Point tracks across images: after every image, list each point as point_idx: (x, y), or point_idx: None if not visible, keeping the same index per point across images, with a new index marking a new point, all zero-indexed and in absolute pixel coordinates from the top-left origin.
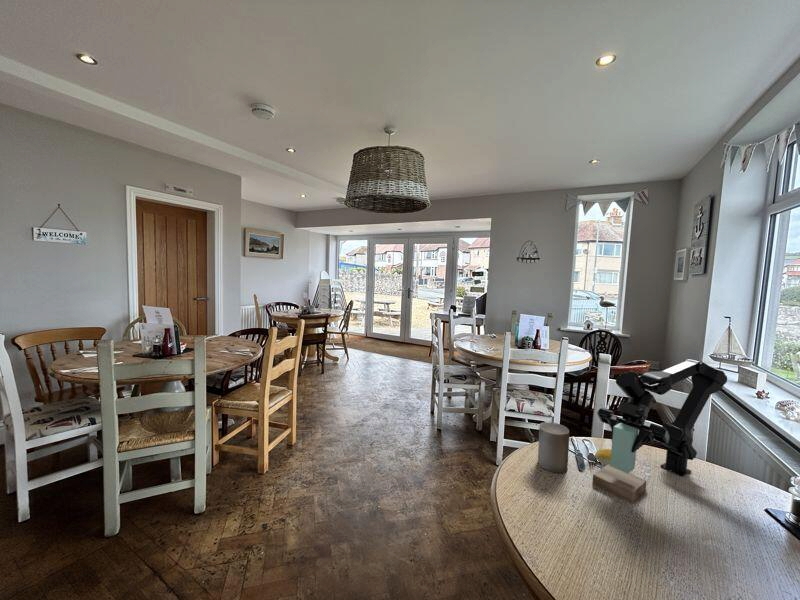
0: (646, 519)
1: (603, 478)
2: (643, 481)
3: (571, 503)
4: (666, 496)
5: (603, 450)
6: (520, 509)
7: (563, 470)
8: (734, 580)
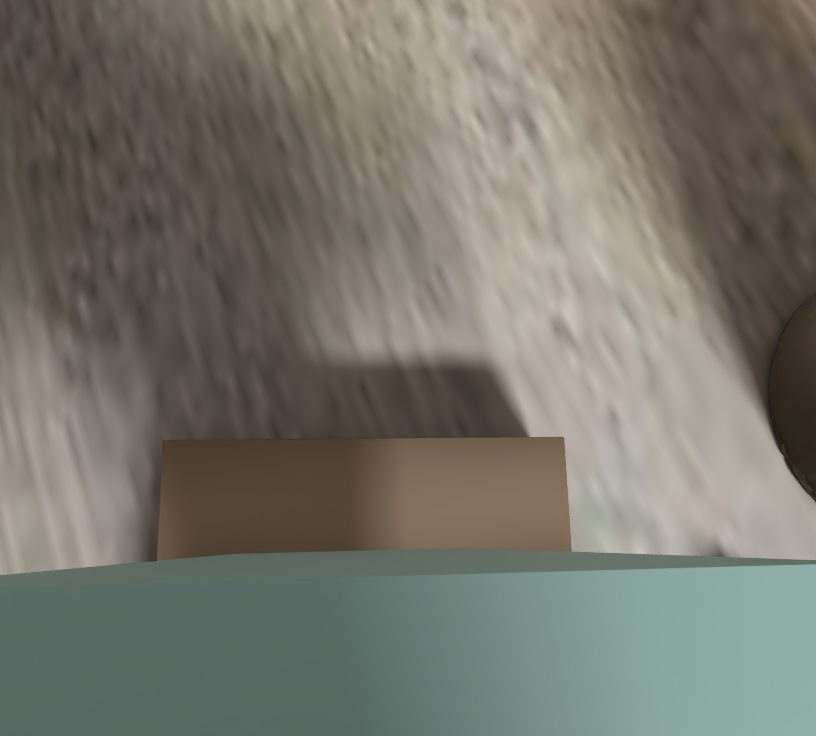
0: (20, 316)
1: (462, 454)
2: None
3: (478, 25)
4: None
5: None
6: None
7: (783, 360)
8: None
